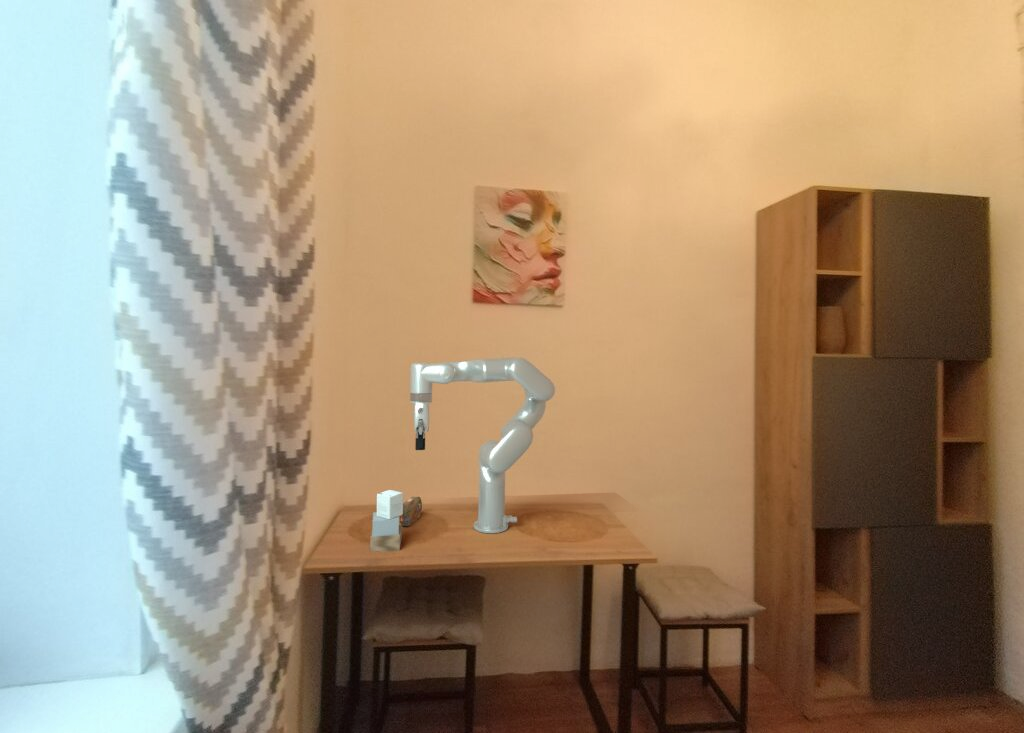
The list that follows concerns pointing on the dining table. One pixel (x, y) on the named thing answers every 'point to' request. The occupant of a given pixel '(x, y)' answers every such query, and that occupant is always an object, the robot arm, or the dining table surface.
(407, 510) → the tin
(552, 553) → the dining table surface
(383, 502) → the skincare box
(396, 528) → the tower top
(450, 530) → the dining table surface
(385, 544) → the block
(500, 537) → the dining table surface
